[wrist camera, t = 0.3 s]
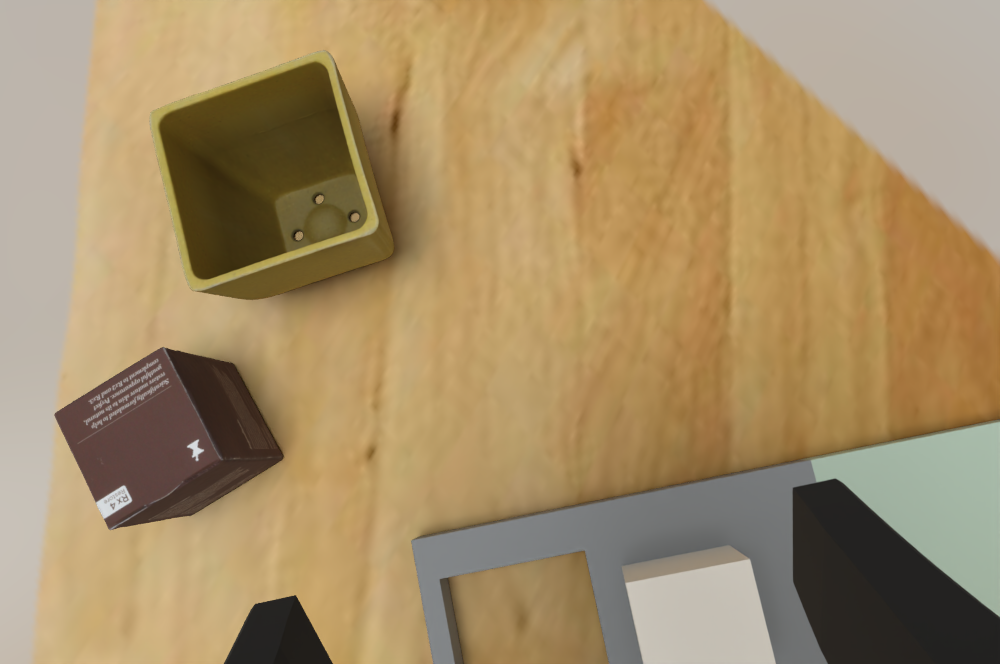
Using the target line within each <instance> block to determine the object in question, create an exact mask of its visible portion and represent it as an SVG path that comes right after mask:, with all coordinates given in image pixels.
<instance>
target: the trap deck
mask: <svg viewBox="0 0 1000 664" xmlns="http://www.w3.org/2000/svg"><path fill="white" fill-rule="evenodd" d="M835 478H836V479H838V480H839V481H841V482H842V483H844V484H845V485H846V486H847V487H848V488H849V489H850V490H851V491H852V492H853V493H854V494H856V495H857V496H858V497H859V498H860V499H861V500H862V501H863V502H864V503H865V504H866V505H867V506H868V507H870V508H871V509H872V510H873V511H874V512H875V513H876V514H877V515H878V516H879V517H881V518H882V519H883V520H884V521H885V522H886V523H887V524H888V525H889V526H891V527H892V528H893V529H894V530H895V531H896V532H897V533H899V534H900V535H901V536H902V537H903V538H904V539H905V540H907V541H908V542H909V543H910V544H911V545H912V546H913V547H915V548H916V549H917V550H918V551H919V552H920V553H922V554H923V555H924V556H925V557H926V558H927V559H929V560H930V561H931V562H932V563H933V564H935V565H936V566H937V567H938V568H939V569H941V570H942V571H943V572H944V573H945V574H947V575H948V576H949V577H950V578H952V579H953V580H954V581H955V582H957V583H958V584H959V585H960V586H961V587H963V588H964V589H965V590H966V591H968V592H969V593H970V594H971V595H973V596H974V597H975V598H976V599H977V600H979V601H980V602H981V603H982V604H984V605H985V606H986V607H988V608H989V609H990V610H991V611H993V612H994V613H995V614H997V615H998V616H999V617H1000V419H999V420H994V421H989V422H984V423H979V424H974V425H969V426H964V427H959V428H954V429H949V430H944V431H939V432H934V433H929V434H924V435H919V436H915V437H910V438H905V439H900V440H895V441H890V442H885V443H880V444H875V445H870V446H865V447H860V448H855V449H850V450H845V451H840V452H835V453H830V454H825V455H820V456H815V457H810V458H806V459H801V460H796V461H791V462H786V463H781V464H776V465H771V466H766V467H761V468H756V469H751V470H746V471H741V472H736V473H731V474H726V475H721V476H716V477H711V478H706V479H701V480H697V481H692V482H687V483H682V484H677V485H672V486H667V487H662V488H657V489H652V490H647V491H642V492H637V493H632V494H627V495H622V496H617V497H612V498H607V499H602V500H597V501H592V502H588V503H583V504H578V505H573V506H568V507H563V508H558V509H553V510H548V511H543V512H538V513H533V514H528V515H523V516H518V517H513V518H508V519H503V520H498V521H493V522H488V523H483V524H479V525H474V526H469V527H464V528H459V529H454V530H449V531H444V532H439V533H434V534H429V535H424V536H420V537H417V538H415V539H413V540H411V542H412V548H413V554H414V559H415V565H416V570H417V576H418V581H419V587H420V592H421V598H422V604H423V609H424V615H425V620H426V626H427V631H428V637H429V643H430V648H431V654H432V659H433V664H464V663H463V658H462V652H461V647H460V642H459V636H458V631H457V626H456V620H455V615H454V609H453V604H452V599H451V593H450V588H449V582H448V577H453V576H458V575H463V574H468V573H473V572H478V571H483V570H488V569H493V568H498V567H503V566H508V565H514V564H519V563H524V562H529V561H534V560H539V559H544V558H549V557H554V556H559V555H564V554H569V553H574V552H579V551H585V554H586V558H587V563H588V568H589V572H590V577H591V582H592V586H593V591H594V596H595V600H596V605H597V610H598V614H599V619H600V624H601V628H602V633H603V638H604V642H605V647H606V652H607V656H608V661H609V664H643V661H642V657H641V652H640V648H639V643H638V639H637V634H636V630H635V625H634V621H633V616H632V612H631V607H630V603H629V598H628V594H627V589H626V585H625V580H624V576H623V571H622V567H621V566H624V565H629V564H634V563H639V562H645V561H650V560H655V559H660V558H665V557H670V556H675V555H681V554H686V553H691V552H696V551H701V550H706V549H711V548H716V547H722V546H727V545H730V546H731V547H733V548H734V549H736V550H737V551H739V552H740V553H742V554H743V555H745V556H746V557H748V558H749V559H750V561H751V565H752V569H753V573H754V577H755V581H756V585H757V589H758V593H759V597H760V602H761V606H762V610H763V614H764V618H765V622H766V626H767V630H768V634H769V638H770V642H771V646H772V650H773V654H774V658H775V662H776V664H828V663H827V661H826V659H825V657H824V655H823V654H822V652H821V649H820V647H819V645H818V642H817V640H816V638H815V635H814V633H813V630H812V628H811V626H810V623H809V621H808V618H807V616H806V613H805V611H804V608H803V606H802V603H801V601H800V598H799V596H798V593H797V591H796V588H795V586H794V583H793V487H798V486H803V485H807V484H812V483H816V482H821V481H826V480H830V479H835Z"/></svg>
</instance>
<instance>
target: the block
mask: <svg viewBox="0 0 1000 664" xmlns="http://www.w3.org/2000/svg"><path fill="white" fill-rule="evenodd" d="M621 567H622V571H623V576H624V580H625V585H626V589H627V594H628V598H629V603H630V607H631V612H632V616H633V621H634V625H635V630H636V634H637V639H638V643H639V648H640V652H641V657H642V661H643V664H776V662H775V658H774V654H773V650H772V646H771V642H770V638H769V634H768V630H767V626H766V622H765V618H764V614H763V610H762V606H761V602H760V597H759V593H758V589H757V585H756V581H755V577H754V573H753V569H752V565H751V561H750V559H749V558H748V557H746V556H745V555H743V554H742V553H740V552H739V551H737V550H736V549H734V548H733V547H731V546H730V545H727V546H722V547H716V548H711V549H706V550H701V551H696V552H691V553H686V554H681V555H675V556H670V557H665V558H660V559H655V560H650V561H645V562H639V563H634V564H629V565H624V566H621Z"/></svg>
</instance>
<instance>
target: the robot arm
mask: <svg viewBox="0 0 1000 664" xmlns="http://www.w3.org/2000/svg"><path fill="white" fill-rule="evenodd" d="M793 583H794V586H795V588H796V591H797V593H798V596H799V598H800V601H801V603H802V606H803V608H804V611H805V613H806V616H807V618H808V621H809V623H810V626H811V628H812V630H813V633H814V635H815V638H816V640H817V642H818V645H819V647H820V649H821V652H822V654H823V655H824V657H825V659H826V661H827V663H828V664H1000V617H999V616H998V615H997V614H995V613H994V612H993V611H991V610H990V609H989V608H988V607H986V606H985V605H984V604H982V603H981V602H980V601H979V600H977V599H976V598H975V597H974V596H973V595H971V594H970V593H969V592H968V591H966V590H965V589H964V588H963V587H961V586H960V585H959V584H958V583H957V582H955V581H954V580H953V579H952V578H950V577H949V576H948V575H947V574H945V573H944V572H943V571H942V570H941V569H939V568H938V567H937V566H936V565H935V564H933V563H932V562H931V561H930V560H929V559H927V558H926V557H925V556H924V555H923V554H922V553H920V552H919V551H918V550H917V549H916V548H915V547H913V546H912V545H911V544H910V543H909V542H908V541H907V540H905V539H904V538H903V537H902V536H901V535H900V534H899V533H897V532H896V531H895V530H894V529H893V528H892V527H891V526H889V525H888V524H887V523H886V522H885V521H884V520H883V519H882V518H881V517H879V516H878V515H877V514H876V513H875V512H874V511H873V510H872V509H871V508H870V507H868V506H867V505H866V504H865V503H864V502H863V501H862V500H861V499H860V498H859V497H858V496H857V495H856V494H854V493H853V492H852V491H851V490H850V489H849V488H848V487H847V486H846V485H845V484H844V483H842V482H841V481H839V480H838V479H836V478H835V479H830V480H826V481H821V482H816V483H812V484H807V485H803V486H798V487H793ZM224 664H333V663H332V661H331V660H330V658H329V656H328V654H327V652H326V650H325V648H324V647H323V645H322V643H321V641H320V639H319V637H318V635H317V634H316V632H315V630H314V628H313V626H312V624H311V622H310V621H309V619H308V617H307V615H306V613H305V611H304V609H303V608H302V606H301V604H300V602H299V600H298V598H297V596H296V595H295V596H290V597H286V598H281V599H277V600H272V601H267V602H263V603H258V604H255V605H254V606H253V608H252V609H251V611H250V613H249V614H248V616H247V618H246V620H245V622H244V624H243V626H242V628H241V630H240V633H239V635H238V637H237V639H236V641H235V643H234V645H233V647H232V649H231V651H230V653H229V655H228V657H227V659H226V661H225V663H224Z"/></svg>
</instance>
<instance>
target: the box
mask: <svg viewBox="0 0 1000 664" xmlns="http://www.w3.org/2000/svg"><path fill="white" fill-rule="evenodd" d="M55 418H56V420H57V422H58V424H59V427H60V429H61V430H62V433H63V435H64V437H65V439H66V441H67V443H68V445H69V447H70V449H71V451H72V453H73V455H74V458H75V460H76V462H77V464H78V466H79V468H80V470H81V472H82V474H83V476H84V478H85V480H86V483H87V485H88V487H89V489H90V491H91V493H92V495H93V497H94V500H95V502H96V504H97V507H98V509H99V511H100V513H101V514H102V516H103V518H104V520H105V522H106V524H107V526H108V529H109V530H113V529H116V528H120V527H127V526H132V525H138V524H143V523H149V522H155V521H161V520H166V519H171V518H177V517H183V516H191V515H193V514H195V513H196V512H198V511H199V510H201V509H203V508H204V507H206V506H208V505H209V504H211V503H212V502H214V501H216V500H218V499H219V498H221V497H222V496H224V495H226V494H227V493H229V492H231V491H232V490H234V489H236V488H237V487H239V486H240V485H242V484H244V483H245V482H247V481H249V480H250V479H252V478H253V477H255V476H257V475H258V474H260V473H261V472H263V471H265V470H266V469H268V468H269V467H271V466H273V465H274V464H276V463H277V462H279V461H281V460H282V458H283V456H282V453H281V452H280V450H279V448H278V446H277V444H276V442H275V441H274V439H273V437H272V435H271V433H270V431H269V429H268V428H267V426H266V424H265V422H264V420H263V418H262V416H261V415H260V413H259V411H258V409H257V407H256V405H255V403H254V402H253V400H252V398H251V396H250V394H249V392H248V391H247V389H246V387H245V385H244V383H243V381H242V380H241V378H240V376H239V374H238V372H237V370H236V368H235V366H234V364H233V363H229V362H224V361H220V360H215V359H211V358H207V357H202V356H198V355H193V354H189V353H185V352H181V351H174V350H170V349H168V348H165V347H162V348H160V349H158V350H156V351H155V352H153V353H152V354H150V355H148V356H147V357H145V358H143V359H141V360H140V361H138V362H137V363H135V364H133V365H132V366H130V367H128V368H127V369H125V370H124V371H122V372H120V373H119V374H117V375H115V376H114V377H112V378H111V379H109V380H108V381H106V382H104V383H102V384H101V385H99V386H98V387H96V388H95V389H93V390H91V391H90V392H88V393H87V394H85V395H83V396H82V397H80V398H78V399H77V400H75V401H73V402H72V403H71V404H69V405H67V406H65V407H64V408H62V409H61V410H59V411H58V412H56V413H55Z"/></svg>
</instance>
